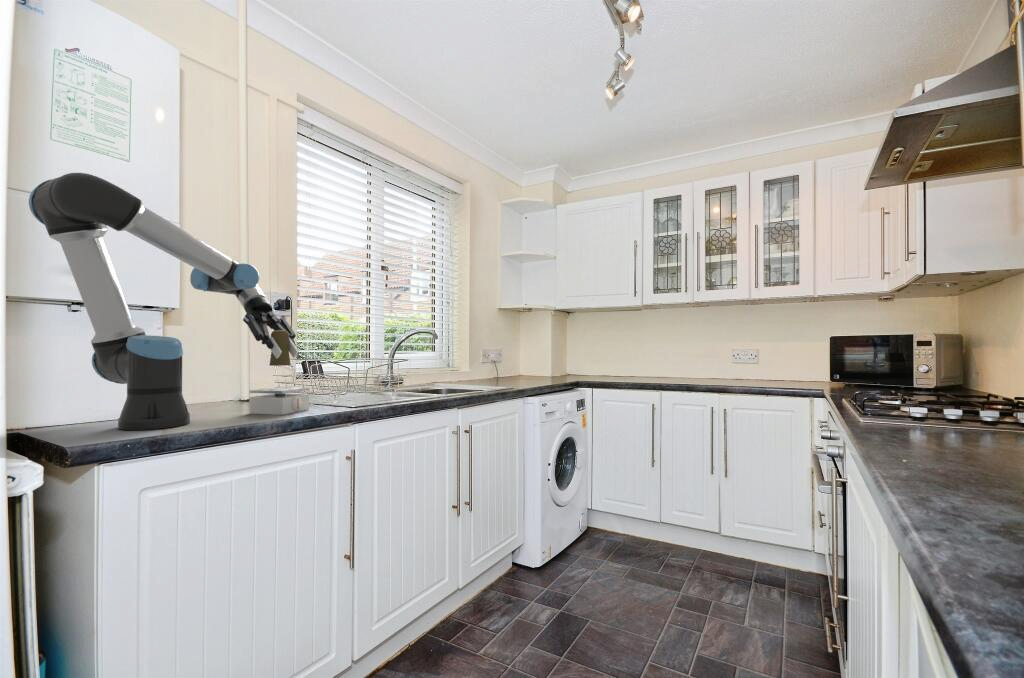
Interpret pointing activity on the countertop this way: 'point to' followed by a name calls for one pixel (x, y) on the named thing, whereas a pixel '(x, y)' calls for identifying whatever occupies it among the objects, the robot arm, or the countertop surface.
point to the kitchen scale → (278, 403)
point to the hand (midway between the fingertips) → (287, 354)
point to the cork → (281, 341)
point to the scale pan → (279, 390)
